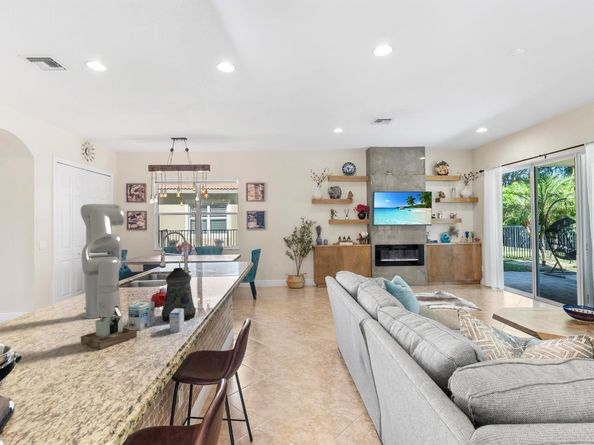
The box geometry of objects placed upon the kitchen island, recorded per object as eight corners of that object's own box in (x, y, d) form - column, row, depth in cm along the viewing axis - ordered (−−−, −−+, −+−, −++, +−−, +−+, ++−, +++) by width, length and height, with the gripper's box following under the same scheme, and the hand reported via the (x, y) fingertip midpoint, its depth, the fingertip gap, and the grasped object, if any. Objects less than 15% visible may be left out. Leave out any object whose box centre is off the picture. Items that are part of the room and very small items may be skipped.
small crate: (95, 335, 137) (95, 320, 137) (114, 329, 144) (114, 315, 144) (103, 337, 135) (103, 322, 135) (122, 331, 142) (122, 317, 141)
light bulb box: (140, 330, 151) (140, 307, 151) (127, 329, 153) (127, 306, 153) (155, 323, 162) (155, 301, 162) (143, 322, 163) (142, 300, 163)
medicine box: (174, 326, 157) (174, 308, 156) (184, 326, 157) (184, 308, 157) (169, 332, 149) (169, 313, 149) (179, 332, 149) (179, 312, 149)
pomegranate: (147, 306, 193) (146, 290, 192) (159, 302, 202) (159, 286, 202) (160, 307, 189) (160, 291, 189) (173, 303, 199) (172, 287, 198)
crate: (80, 343, 136) (80, 336, 136) (117, 331, 150) (117, 325, 150) (100, 349, 130) (100, 342, 129) (136, 337, 143) (136, 330, 143)
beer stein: (177, 324, 160) (176, 272, 159) (150, 318, 169) (149, 269, 169) (202, 315, 174) (202, 267, 174) (176, 310, 183) (176, 265, 183)
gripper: (87, 288, 140) (88, 331, 140) (112, 292, 132) (113, 338, 132) (105, 285, 147) (106, 326, 147) (130, 289, 138) (130, 332, 139)
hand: (109, 331), depth 140 cm, fingers closed on small crate, 5 cm apart
